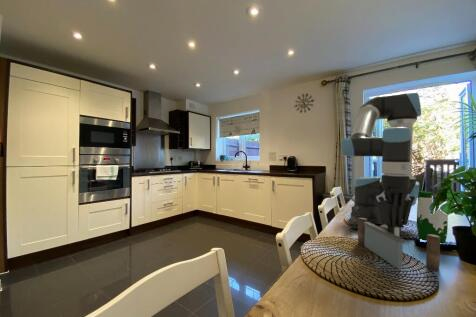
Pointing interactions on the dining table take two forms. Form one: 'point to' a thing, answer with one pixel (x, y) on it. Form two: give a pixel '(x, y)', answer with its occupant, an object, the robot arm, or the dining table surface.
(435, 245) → the post
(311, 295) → the dining table surface
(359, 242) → the hinge post
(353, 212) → the salt shaker
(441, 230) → the milk carton
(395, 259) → the gate
